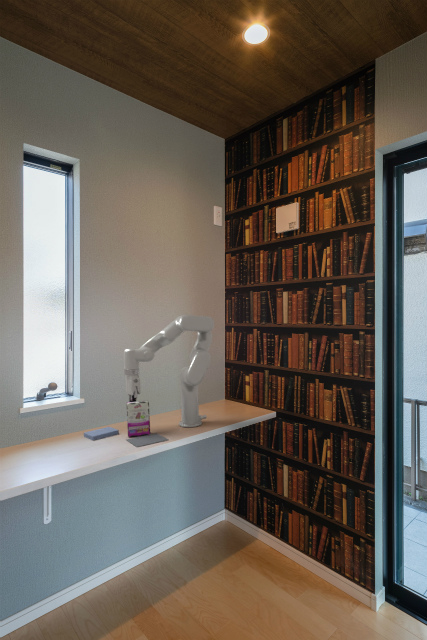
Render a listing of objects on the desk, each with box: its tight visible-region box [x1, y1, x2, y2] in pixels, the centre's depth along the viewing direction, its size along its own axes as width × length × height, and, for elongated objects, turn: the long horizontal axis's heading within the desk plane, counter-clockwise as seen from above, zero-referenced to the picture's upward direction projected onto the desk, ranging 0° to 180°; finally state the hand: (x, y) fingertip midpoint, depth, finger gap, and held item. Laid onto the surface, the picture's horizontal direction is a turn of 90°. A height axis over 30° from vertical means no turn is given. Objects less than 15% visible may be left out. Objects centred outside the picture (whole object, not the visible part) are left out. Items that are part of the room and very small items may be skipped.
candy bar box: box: [126, 400, 151, 438], centre depth 186 cm, size 11×5×16 cm, turn 105°
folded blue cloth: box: [83, 426, 120, 441], centre depth 187 cm, size 14×10×2 cm
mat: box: [125, 432, 169, 448], centre depth 177 cm, size 16×14×1 cm
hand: (133, 407), depth 191 cm, fingers closed
